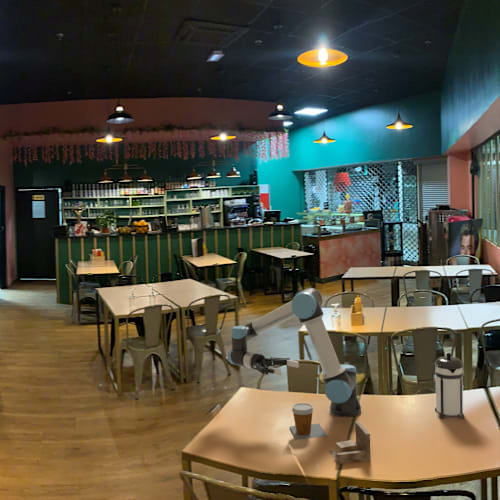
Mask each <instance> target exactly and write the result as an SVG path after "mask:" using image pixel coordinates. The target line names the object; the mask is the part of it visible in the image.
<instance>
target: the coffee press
mask: <svg viewBox="0 0 500 500" xmlns="http://www.w3.org/2000/svg"><path fill="white" fill-rule="evenodd" d="M434 367H435V370H434V376H435V407H434V411H435V412H438V413H439V419H442V420H444V418H445V416H450V417H451V416H452V417H453V416H454V417H455V416H458V417H459V418H460V419H462V420H463V419H465V415H464V413H463V411H464V390H463V389H464V386H463V384H464V383H463V382H464V381H463V380H464V379H463V377H464V371H463V368H464V363H463V362H462V360H461V359H460V358H458V357H454V356H452V354H451V353H450V352H447V353H446V354H445V356H440V357H438V358H436V360H435V362H434Z"/></svg>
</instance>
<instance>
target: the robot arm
mask: <svg viewBox="0 0 500 500" xmlns="http://www.w3.org/2000/svg"><path fill="white" fill-rule="evenodd" d="M322 304H323V297H322V294H321V292H320V291H319V290H318V289H316V288H314V287H308V288H304V289H303V290H302V291H300V292H298V293H297V294H295V296H293V299H292V300H290V301H289V302H286V303H285V304H283V305H281V306H279V307H277V308H275V309H274V310H272V311H270V312H267V313H266V314H264V315H262V316H260V317H258V318H256V319H255V320H253V321H251V322H249V323H246V324H245V325H235V326H233V327H232V328H231V330H230V331H231V333H230V336H231V349H230V350H229V352H228V355H227V361H228V363H230V364H231V365H233V366H234V365H235V366H238V367H244V368H248V369H249V370H252V369H253V370H256V371H258V372H259V373H261V374H262V375H264V374H265V375H269V374H272V375H276V376H281V375H282V372H281V371H282V369H281V368H277V367H275V366H288V367H292V368H297V369H299V368H300V362H299V361H296V360H291V358H290V357H275V356H271V357H269V358H266V357H265V356H264V355H263V354H260V353H256V352H253V351H251V352H250V351H248V342H249V341H250V340H252V339H254V338H255V337H258V336H259V335H261V334H262V333H265V332H266V331H269V330H271V329H273V328H275V327H277V326H279V325H281V324H282V323H284V322H287V321H288V320H291V319H292V318H295V317H297V318H298V321H299V323H300V324H302V325H304V326H305V329H306V332H307V333H308V334H307V335H308V336H309V339H310V342H311V345H312V347H313V349H314V352H315V355H316V356H317V360H318V362H319V365H320V367H321V369H322V372H323V374H322V375H321V378H322V381H323V383H324V394H325V396H326V398H327V399H328V400H329V401H330V405H329V412H330V414H332V415H333V416H337V417H341V418H349V417H350V418H351V417H357V416H358V415H359V416H360V414H361V413H362V406H361V404H360V401H359V398H358V394H357V393H358V383H357V381H358V380H357V374H358V372H357V368H356V366H354V365H352V364H341V363H340V361H339V359H338V355H337V354H336V351H335V349H334V348H335V347H334V346H333V343H332V340H331V338H330V335H329V333H328V331H327V328H326V325H325V323H324V320H323V317H324V312H323V309H322V307H321V306H322Z"/></svg>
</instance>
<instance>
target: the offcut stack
mask: <svg viewBox="0 0 500 500" xmlns="http://www.w3.org/2000/svg"><path fill="white" fill-rule="evenodd" d="M334 450H336V453H343V452H352V451H358V449H357V444H356V442H354V441H353V440H352V439H349V440H343V441H338V442H335V449H334Z"/></svg>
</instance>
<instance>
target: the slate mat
mask: <svg viewBox="0 0 500 500" xmlns="http://www.w3.org/2000/svg"><path fill="white" fill-rule="evenodd" d="M289 429H290V431H291V433H292V435H293V437H294V438H295V440H302V439H303V440H305V439H313V438H322V437H323V438H324V437H328V434H327V433H326V431H325V430H324V428H323V427H322V426H321V424H320V423H311V433H310V434H309V435H299V434H297V432H296V426H295V425H292V426H289Z"/></svg>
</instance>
